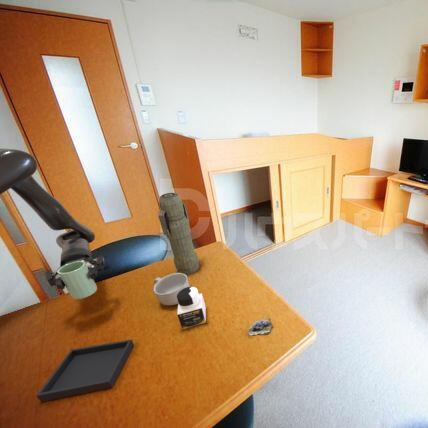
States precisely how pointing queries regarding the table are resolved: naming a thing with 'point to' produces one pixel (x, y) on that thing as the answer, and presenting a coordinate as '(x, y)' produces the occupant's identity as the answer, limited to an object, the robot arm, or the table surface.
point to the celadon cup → (77, 279)
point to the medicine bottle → (191, 307)
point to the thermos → (178, 232)
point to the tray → (87, 370)
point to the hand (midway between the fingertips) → (77, 281)
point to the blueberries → (260, 327)
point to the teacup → (170, 287)
